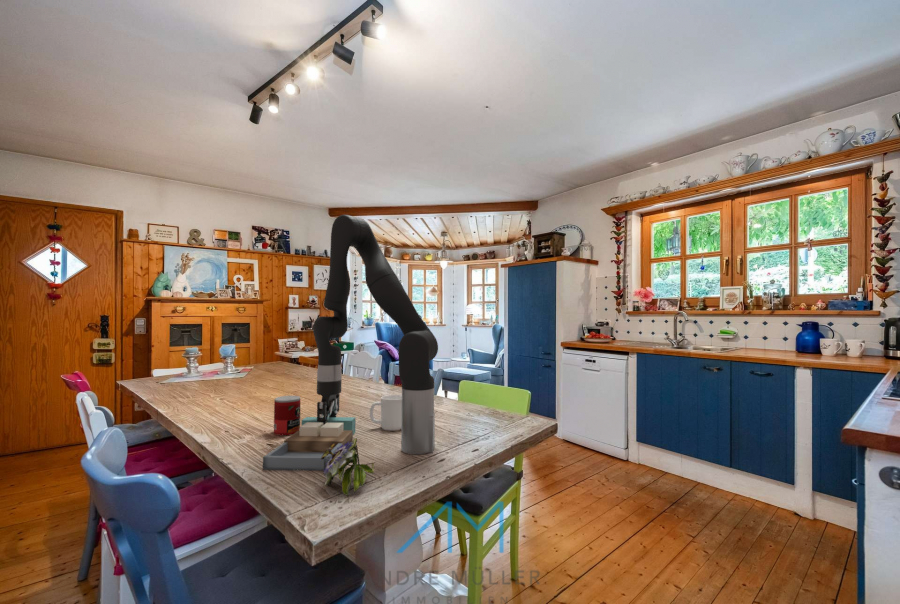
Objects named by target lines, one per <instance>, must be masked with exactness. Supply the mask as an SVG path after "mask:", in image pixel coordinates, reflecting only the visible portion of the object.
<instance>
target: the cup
mask: <svg viewBox="0 0 900 604" xmlns="http://www.w3.org/2000/svg"><path fill="white" fill-rule="evenodd" d="M376 406H380V419H375V417H374V410H375V407H376ZM401 417H402V394H387V395H382V396H381V397H380V401H375V402H373V403H371V406H370V410H369V418H370V421H371V422H373V424H377V425H379V424H380V427H381V429H382V430H385V431H399V430H401Z"/></svg>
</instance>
